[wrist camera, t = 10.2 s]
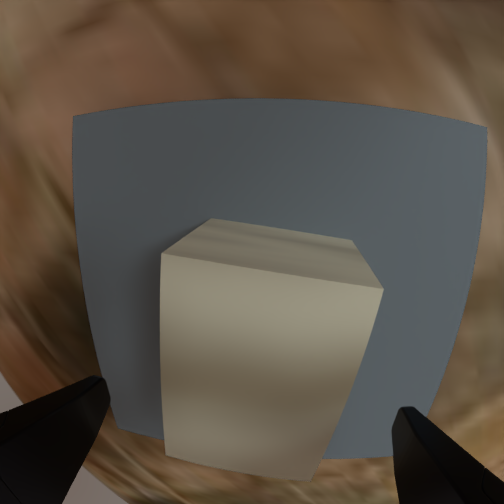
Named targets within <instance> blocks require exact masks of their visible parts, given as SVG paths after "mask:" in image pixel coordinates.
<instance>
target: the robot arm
mask: <svg viewBox="0 0 504 504" xmlns="http://www.w3.org/2000/svg"><path fill="white" fill-rule="evenodd" d="M110 401H111V397H110V393H109V390H108V386H107V382H106V380H105V379H104V378H103V377H99V376H95V375H93V376H90V377H88V378H85V379H83V380H81V381H79V382H76V383H74V384H72V385H69V386H67V387H64V388H62V389H60V390H57V391H55V392H53V393H50V394H48V395H45V396H43V397H40V398H38V399H36V400H33V401H31V402H28V403H26V404H23V405H21V406H18V407H16V408H13V409H11V410H9V411H6V412H3V413H0V504H62V502H63V501H64V499H65V496H66V495H67V493H68V491H69V489H70V486H71V485H72V483H73V481H74V479H75V477H76V475H77V473H78V471H79V469H80V468H81V466H82V464H83V462H84V460H85V458H86V456H87V454H88V453H89V451H90V449H91V447H92V445H93V443H94V441H95V439H96V437H97V435H98V432H99V430H100V427H101V425H102V422H103V420H104V417H105V415H106V412H107V410H108V407H109V405H110ZM391 434H392V446H393V460H394V474H395V481H396V486H397V492H398V498H399V504H504V482H503V481H502V480H500V479H499V478H498V477H497V476H495V475H494V474H493V473H492V472H490V471H489V470H488V469H487V468H485V467H484V466H483V465H482V464H481V463H480V462H478V461H477V460H476V459H475V458H474V457H472V456H471V455H470V454H469V453H468V452H467V451H465V450H464V449H463V448H462V447H461V446H459V445H458V444H457V443H456V442H455V441H454V440H452V439H451V438H450V437H449V436H448V435H446V434H445V433H444V432H443V431H442V430H441V429H439V428H438V427H437V426H436V425H435V424H434V423H432V422H431V421H430V420H429V419H428V418H426V417H425V416H424V415H423V414H422V413H421V412H419V411H418V410H417V409H416V408H415V407H413V406H404V407H400V408H399V410H398V412H397V415H396V417H395V420H394V423H393V425H392V430H391ZM484 468H485V469H484Z"/></svg>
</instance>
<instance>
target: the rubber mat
mask: <svg viewBox="0 0 504 504" xmlns="http://www.w3.org/2000/svg"><path fill="white" fill-rule="evenodd" d="M486 161H487V127H484V126H480V125H476V124H472V123H468V122H464V121H459V120H455V119H450V118H446V117H441V116H436V115H431V114H425V113H420V112H414V111H408V110H402V109H395V108H388V107H381V106H373V105H365V104H356V103H345V102H334V101H320V100H302V99H267V98H247V99H212V100H194V101H180V102H168V103H158V104H149V105H140V106H132V107H125V108H118V109H111V110H105V111H99V112H93V113H88V114H82V115H77V116H73V139H72V165H73V195H74V211H75V224H76V235H77V245H78V253H79V261H80V269H81V276H82V283H83V289H84V295H85V301H86V307H87V312H88V317H89V322H90V327H91V332H92V337H93V341H94V345H95V350H96V354H97V358H98V362H99V366H100V370H101V374H102V377H103V378H104V379H105V380H106V382H107V386H108V390H109V393H110V397H111V401H110V405H111V408H112V412H113V415H114V418H115V421H116V424H117V427H118V428H119V429H122V430H126V431H129V432H133V433H137V434H141V435H145V436H149V437H153V438H157V439H161V440H164V428H163V413H162V395H161V369H160V276H161V253H162V252H164V251H165V250H167V249H168V248H169V247H171V246H172V245H174V244H175V243H176V242H178V241H179V240H181V239H182V238H183V237H185V236H186V235H188V234H189V233H191V232H192V231H193V230H195V229H196V228H198V227H199V226H201V225H202V224H203V223H205V222H206V221H208V220H209V219H211V218H213V219H220V220H227V221H234V222H241V223H248V224H254V225H261V226H267V227H274V228H280V229H287V230H293V231H299V232H305V233H312V234H318V235H324V236H330V237H336V238H342V239H348V240H352V241H353V243H354V244H355V246H356V247H357V249H358V250H359V252H360V253H361V255H362V256H363V258H364V259H365V261H366V262H367V264H368V265H369V267H370V268H371V270H372V271H373V273H374V274H375V276H376V277H377V279H378V281H379V282H380V284H381V285H382V287H383V288H384V291H383V294H382V298H381V301H380V305H379V308H378V312H377V315H376V318H375V322H374V325H373V328H372V331H371V334H370V338H369V341H368V344H367V347H366V350H365V353H364V356H363V358H362V361H361V364H360V367H359V370H358V373H357V375H356V378H355V381H354V384H353V386H352V389H351V391H350V394H349V397H348V399H347V402H346V404H345V407H344V409H343V412H342V414H341V416H340V419H339V421H338V424H337V426H336V428H335V431H334V433H333V435H332V437H331V440H330V442H329V444H328V446H327V449H326V451H325V453H324V455H323V457H322V459H348V458H372V457H387V456H393V446H392V434H391V430H392V425H393V423H394V420H395V417H396V415H397V412H398V410H399V408H400V407H404V406H413V407H415V408H416V409H417V410H418V411H419V412H421V413H422V414H423V415H424V416H425V417H427V414H428V412H429V410H430V407H431V405H432V403H433V400H434V398H435V395H436V393H437V390H438V388H439V385H440V383H441V380H442V377H443V375H444V372H445V369H446V366H447V364H448V361H449V358H450V355H451V352H452V349H453V346H454V343H455V339H456V336H457V333H458V330H459V326H460V323H461V319H462V315H463V312H464V308H465V304H466V300H467V296H468V292H469V287H470V283H471V278H472V274H473V269H474V264H475V259H476V253H477V247H478V241H479V235H480V228H481V220H482V212H483V203H484V193H485V180H486Z"/></svg>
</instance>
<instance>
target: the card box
mask: <svg viewBox="0 0 504 504" xmlns="http://www.w3.org/2000/svg"><path fill="white" fill-rule="evenodd" d="M383 291H384V288H383V287H382V285H381V284H380V282H379V281H378V279H377V277H376V276H375V274H374V273H373V271H372V270H371V268H370V267H369V265H368V264H367V262H366V261H365V259H364V258H363V256H362V255H361V253H360V252H359V250H358V249H357V247H356V246H355V244H354V243H353V241H352V240H348V239H342V238H336V237H330V236H324V235H318V234H312V233H305V232H299V231H293V230H287V229H280V228H274V227H267V226H261V225H254V224H248V223H241V222H234V221H227V220H220V219H213V218H211V219H209V220H208V221H206V222H205V223H203V224H202V225H201V226H199V227H198V228H196V229H195V230H193V231H192V232H191V233H189V234H188V235H186V236H185V237H183V238H182V239H181V240H179V241H178V242H176V243H175V244H174V245H172V246H171V247H169V248H168V249H167V250H165V251H164V252H162V253H161V276H160V369H161V395H162V413H163V428H164V441H165V453H166V455H167V456H170V457H174V458H177V459H181V460H185V461H189V462H193V463H197V464H201V465H205V466H209V467H214V468H219V469H223V470H229V471H234V472H239V473H245V474H251V475H257V476H264V477H271V478H279V479H288V480H298V481H310V482H311V480H312V478H313V476H314V474H315V472H316V470H317V468H318V466H319V464H320V461H321V459H322V457H323V455H324V453H325V451H326V449H327V446H328V444H329V442H330V440H331V437H332V435H333V433H334V431H335V428H336V426H337V424H338V421H339V419H340V416H341V414H342V412H343V409H344V407H345V404H346V402H347V399H348V397H349V394H350V391H351V389H352V386H353V384H354V381H355V378H356V375H357V373H358V370H359V367H360V364H361V361H362V358H363V356H364V353H365V350H366V347H367V344H368V341H369V338H370V334H371V331H372V328H373V325H374V322H375V318H376V315H377V312H378V308H379V305H380V301H381V298H382V294H383Z"/></svg>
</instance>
